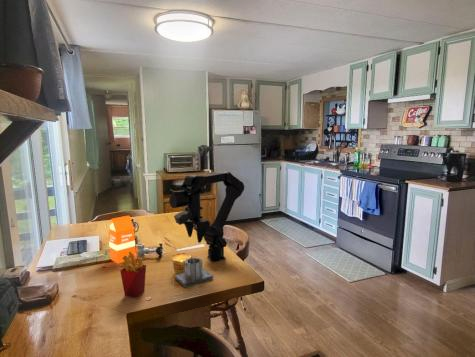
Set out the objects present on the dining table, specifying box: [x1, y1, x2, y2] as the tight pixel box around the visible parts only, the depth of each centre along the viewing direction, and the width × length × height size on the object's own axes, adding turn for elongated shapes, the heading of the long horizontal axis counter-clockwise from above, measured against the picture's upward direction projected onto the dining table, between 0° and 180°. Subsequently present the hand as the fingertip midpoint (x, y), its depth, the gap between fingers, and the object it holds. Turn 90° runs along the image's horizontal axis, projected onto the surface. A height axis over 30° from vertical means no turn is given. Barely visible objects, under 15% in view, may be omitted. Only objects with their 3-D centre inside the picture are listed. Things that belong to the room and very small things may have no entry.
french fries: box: [117, 252, 147, 299], centre depth 107 cm, size 9×8×15 cm
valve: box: [135, 242, 164, 260], centre depth 142 cm, size 7×7×12 cm
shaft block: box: [174, 267, 214, 288], centre depth 120 cm, size 12×9×6 cm
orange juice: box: [108, 215, 137, 264], centre depth 140 cm, size 8×9×20 cm
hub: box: [184, 257, 203, 279], centre depth 120 cm, size 7×7×6 cm
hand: (194, 239), depth 131 cm, fingers open, 9 cm apart
